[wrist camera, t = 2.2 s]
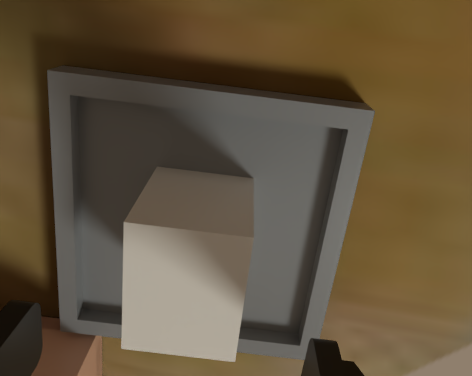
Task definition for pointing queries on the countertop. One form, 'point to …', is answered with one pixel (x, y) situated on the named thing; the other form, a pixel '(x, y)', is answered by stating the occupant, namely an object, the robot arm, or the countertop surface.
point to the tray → (210, 161)
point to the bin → (68, 352)
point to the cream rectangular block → (187, 264)
